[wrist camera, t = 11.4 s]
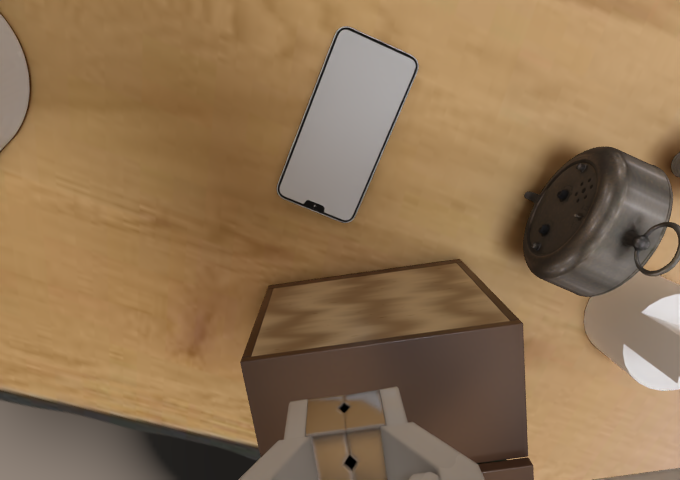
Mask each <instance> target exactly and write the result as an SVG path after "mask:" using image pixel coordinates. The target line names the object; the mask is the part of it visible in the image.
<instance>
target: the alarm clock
mask: <svg viewBox="0 0 680 480" xmlns="http://www.w3.org/2000/svg"><path fill="white" fill-rule="evenodd" d="M524 197H525V198H526V199H528V200H531V201H533V202H534V207H533V209H532V211H531V213H530V216H529V218H528V221H527V224H526V228H525V233H524V240H523V251H524V257H525V261H526V263H527V265H528V267H529V269H530V270H531V272H532V273H533V274H535V275H536V276H537V277H539V278H541V279H543V280H545V281H547V282H550V283H552V284H554V285H557V286H559V287H561V288H564V289H566V290H568V291H570V292H573V293H575V294H577V295H580V296H585V297H594V296H599V295H602V294H605V293H608V292H610V291H612V290H614V289H616V288H618V287H619V286H621V285H623V284H624V283H625V282H627V281H628V280H629V279H631V278H632V277H633V276H634V275H635V274H637V273H638V272H639V271H640V272H641V273H643V274H644V275H647V276H659V275H661V274H664V273H666V272H668V271H670V270H671V269H672V268H674V267H675V265H676V264H677V263H678V262H679V260H680V226H679V225H677V224H675V223H672V222H669V219H670V216H671V210H672V203H673V193H672V188H671V184H670V181H669V179H668V177H667V175H666V174H665V173H664V172H663V171H662V170H661V169H660V168H658V167H656V166H654V165H651V164H648V163H646V162H644V161H642V160H639V159H637V158H635V157H633V156H631V155H629V154H626V153H624V152H622V151H620V150H618V149H615V148H612V147H596V148H592V149H589V150H587V151H584V152H582V153H580V154H578V155H577V156H575V157H574V158H572V159H571V160H569V161H568V162H567V163H566V164H565V165H563V166H562V167H561V168H560V169H559V170H558V171H557V172H556V173H555V175H554V176H553V177H552V178H551V179H550V181H549V182H548V183H547V185H546V186H545V188H544V189H543V190H542V192H541V194H539V195H538V194H536V193H533V192H526V193H525V195H524ZM667 227H671V228H673V229H674V230H675V231H676V233H677V235H678V239H679V242H678V243H679V245H678V249H677V252H676V254H675V256H674V258H673V259H672V261H671V262H670V263H669V264H667V265H666V266H664V267H663V268H662V269H660V270H656V271H648V270H645V269H644V268H643V266H644V265H645V264H646V263H647V261H648V260H649V259H650V257H651V256H652V255H653V253H654V252H655V250H656V249H657V247H658V245H659V243H660V242H661V240H662V238H663V236H664V233H665V231H666V228H667Z"/></svg>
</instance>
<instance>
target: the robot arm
mask: <svg viewBox="0 0 680 480" xmlns="http://www.w3.org/2000/svg"><path fill="white" fill-rule="evenodd" d="M29 93H30V84H29V73H28V68H27V63H26V60H25V56H24V53H23V51H22V48H21V46H20V44H19V41H18V39H17V37H16V36H15V34H14V32H13V30H12V29H11V27H10V26H9V24H8V23H7V22H6V20H5V19H4V18H3V16H2V15H1V14H0V151H1V150H2V149H3V147H4V146H5V145H6V144H7V143H8V142H9V141H10V140H11V139H12V138H13V137H14V135H15V134H16V133H17V131H18V129H19V128H20V126H21V124H22V122H23V120H24V117H25V114H26V111H27V107H28V102H29ZM239 480H485V479H484V477H483V474H482V472H481V470H480V468H479V465H478V464H477V463H475V462H474V461H472V460H471V459H469V458H467V457H466V456H464V455H463V454H461V453H460V452H458V451H457V450H455V449H454V448H452V447H451V446H449V445H448V444H446V443H444V442H443V441H441V440H440V439H438V438H437V437H435V436H434V435H432V434H431V433H429V432H428V431H426V430H424V429H423V428H421V427H420V426H418V425H417V424H415V423H414V422H409V423H408V422H407V418H406V414H405V410H404V407H403V403H402V399H401V396H400V392H399V388H398V387H397V386H396V387H391V388H385V389H380V392H379V390H374V391H368V392H362V393H356V394H350V395H338V396H330V397H321V398H313V399H309V400H308V399H304V400H297V401H291V402H290V403H289V406H288V413H287V420H286V427H285V434H284V440H279V441H277V442H276V443H275V444H274V445H273V446H272V447H271V448H270V449H269V450H268V451H267V452H266V453H265V454H264V455H263V456H262V457H261V458H260V459H259V460H258V461H257V462H256V463H255V464H254V465H253V466H252V467H251V468H250V469H249V470H248V471H247V472H246V473H245V474H244V475H243V476H242V477H241V478H240V479H239ZM593 480H680V468H675V469H668V470H660V471H653V472H645V473H638V474H630V475H623V476H615V477H608V478H601V479H593Z"/></svg>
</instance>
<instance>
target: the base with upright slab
mask: <svg viewBox="0 0 680 480" xmlns="http://www.w3.org/2000/svg"><path fill="white" fill-rule="evenodd" d="M584 326H585V331H586V334H587V336H588V338H589V340H590V341H591V343H592V344H593V345H594V346H596V347H597V348H598V349H599V350H600V351H601V352H602V353H604V354H605V355H606V356H607V357H608V358H610V359H611V360H612V361H613V362H614V363H616V364H617V365H618V366H619V367H620V368H622V369H623V370H624V371H625V372H626V373H628V374H629V375H630V376H631V377H632V378H634V379H635V380H636V381H637V382H638V383H640V384H642V385H644V386H646V387H648V388H651V389H656V390H661V391H666V390H677V389H680V285H679V284H677V283H675V282H672V281H670V280H668V279H666V278H664V277H662V276H647V275H644V274H643V273H641V272H640V271H639V272H638V273H637V274H635V275H634V276H633V277H632V278H631V279H629V280H628V281H627V282H625V283H624V284H623V285H621V286H619V287H618V288H616V289H614V290H612V291H610V292H608V293H605V294H602V295H599V296H594V297H591V298H590V299H589V301H588V304H587V307H586V309H585V314H584Z"/></svg>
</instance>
